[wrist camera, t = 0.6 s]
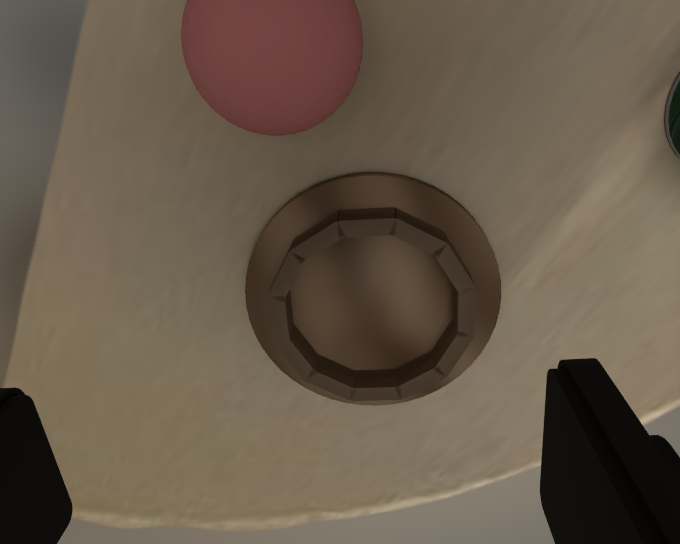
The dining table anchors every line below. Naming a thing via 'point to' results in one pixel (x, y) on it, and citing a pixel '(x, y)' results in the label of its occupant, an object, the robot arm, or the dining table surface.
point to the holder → (373, 289)
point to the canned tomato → (673, 117)
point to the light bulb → (273, 59)
